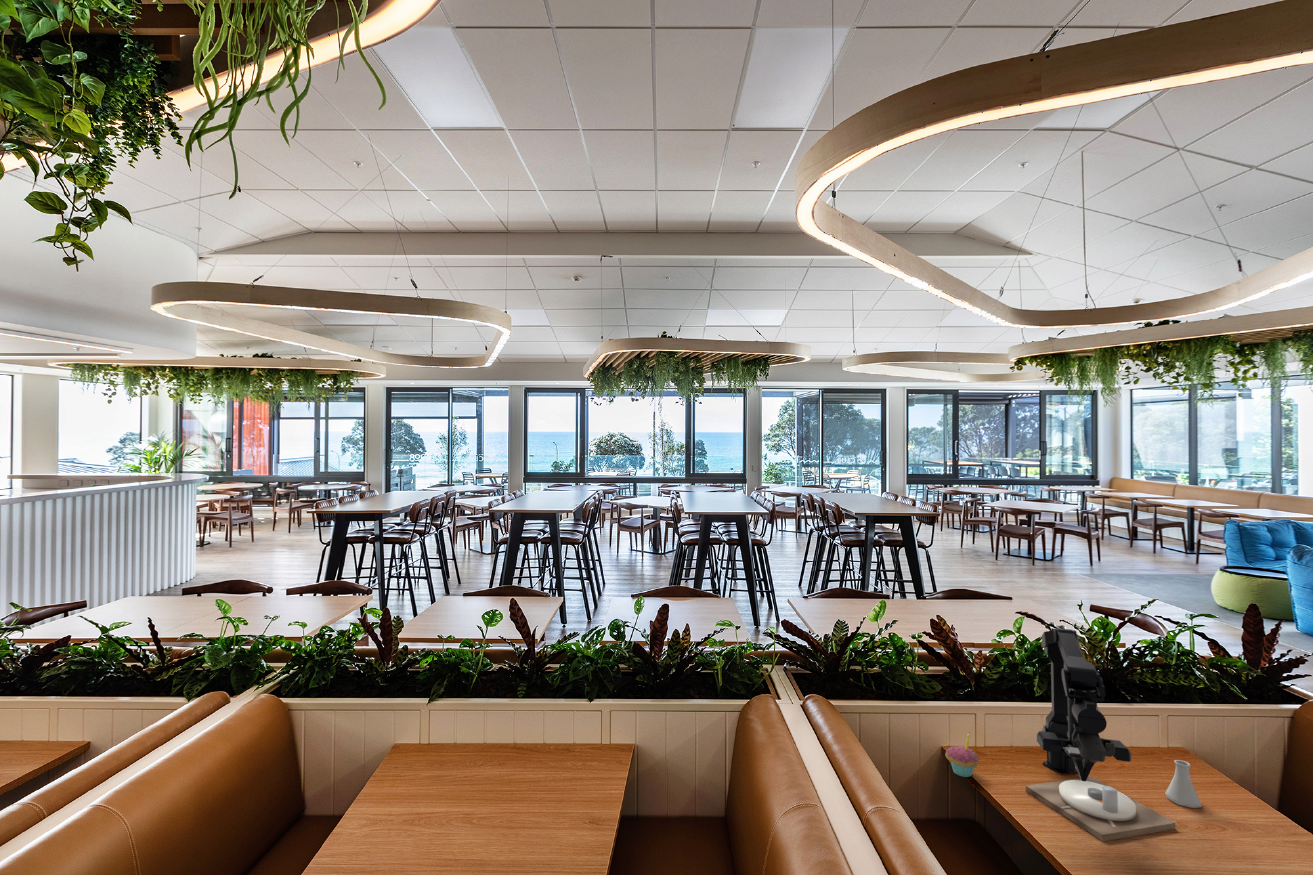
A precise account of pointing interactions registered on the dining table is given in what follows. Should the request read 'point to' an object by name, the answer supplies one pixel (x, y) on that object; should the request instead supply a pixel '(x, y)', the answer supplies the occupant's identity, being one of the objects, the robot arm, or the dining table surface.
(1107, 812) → the dial
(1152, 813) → the dial base
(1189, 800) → the flask
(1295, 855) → the dining table surface
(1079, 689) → the robot arm
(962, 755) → the cupcake
